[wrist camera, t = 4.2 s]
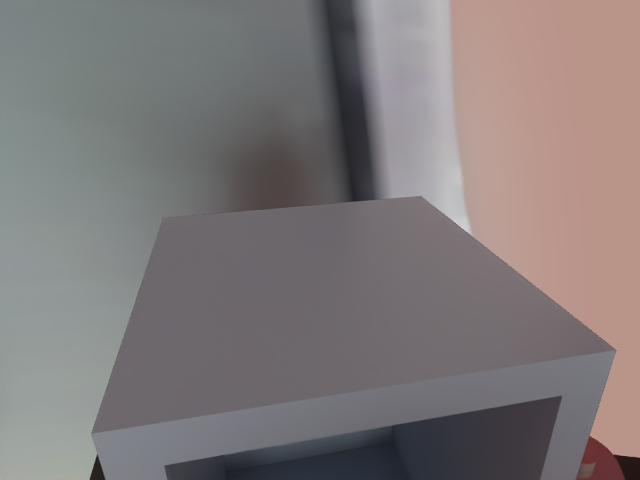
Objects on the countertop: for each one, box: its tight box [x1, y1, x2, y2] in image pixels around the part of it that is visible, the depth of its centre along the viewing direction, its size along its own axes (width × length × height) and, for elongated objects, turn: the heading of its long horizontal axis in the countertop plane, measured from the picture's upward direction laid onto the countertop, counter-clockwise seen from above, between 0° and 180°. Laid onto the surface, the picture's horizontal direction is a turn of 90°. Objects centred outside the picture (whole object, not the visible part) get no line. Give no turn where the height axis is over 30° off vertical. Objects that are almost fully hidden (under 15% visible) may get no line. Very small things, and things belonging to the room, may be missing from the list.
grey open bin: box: [91, 196, 616, 480], centre depth 9 cm, size 8×6×6 cm
